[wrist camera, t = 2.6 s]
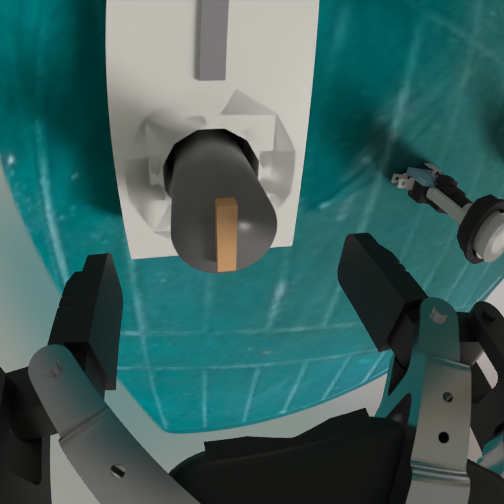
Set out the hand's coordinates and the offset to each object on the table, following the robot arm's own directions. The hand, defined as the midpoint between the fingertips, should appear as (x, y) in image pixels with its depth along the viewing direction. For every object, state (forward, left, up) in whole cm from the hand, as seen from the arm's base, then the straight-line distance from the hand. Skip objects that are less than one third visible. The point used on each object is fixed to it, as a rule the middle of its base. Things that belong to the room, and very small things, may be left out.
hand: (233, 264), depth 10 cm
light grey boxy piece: (-3, 0, -12) cm, 12 cm away
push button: (+2, +18, -12) cm, 22 cm away
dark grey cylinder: (0, 0, -12) cm, 12 cm away
